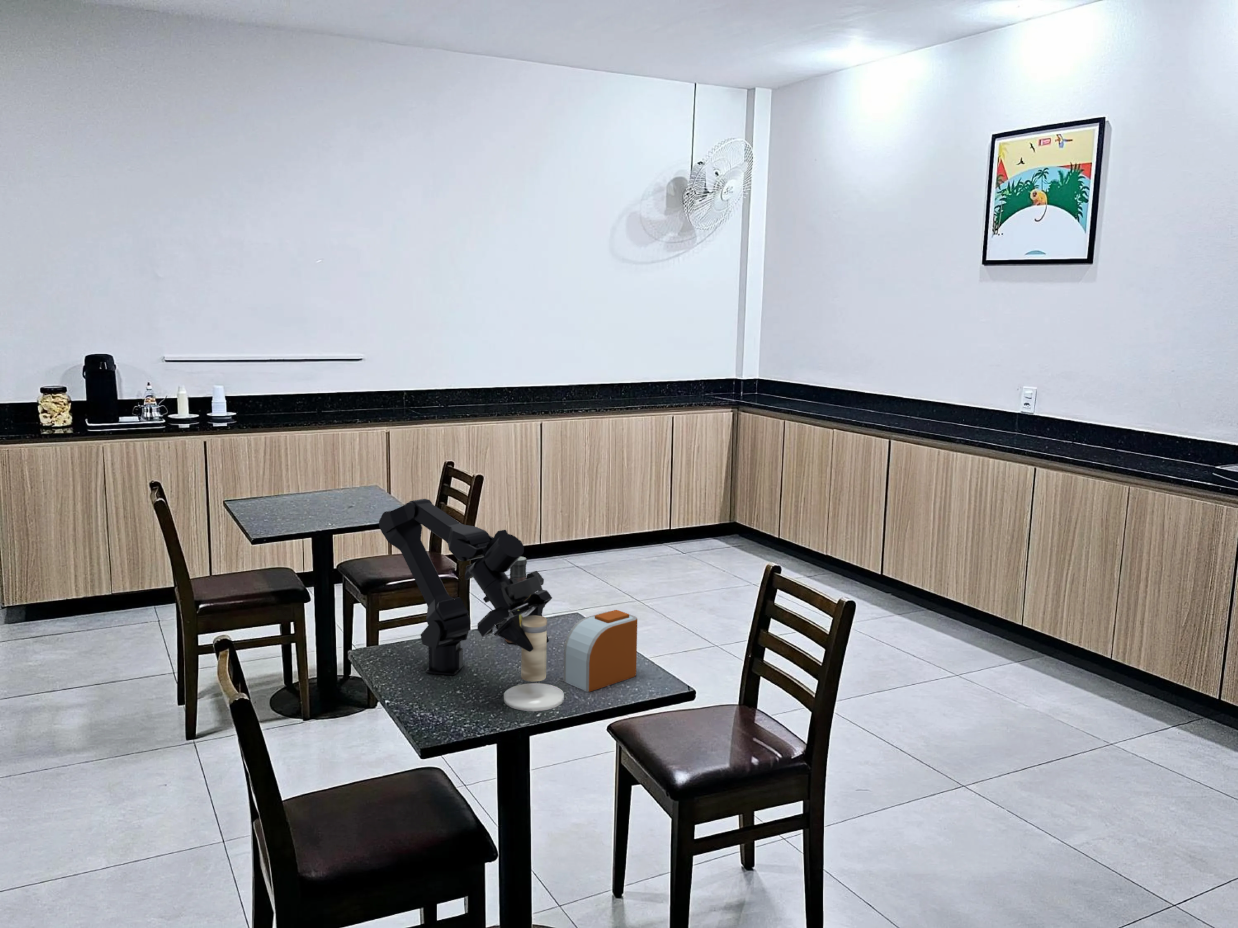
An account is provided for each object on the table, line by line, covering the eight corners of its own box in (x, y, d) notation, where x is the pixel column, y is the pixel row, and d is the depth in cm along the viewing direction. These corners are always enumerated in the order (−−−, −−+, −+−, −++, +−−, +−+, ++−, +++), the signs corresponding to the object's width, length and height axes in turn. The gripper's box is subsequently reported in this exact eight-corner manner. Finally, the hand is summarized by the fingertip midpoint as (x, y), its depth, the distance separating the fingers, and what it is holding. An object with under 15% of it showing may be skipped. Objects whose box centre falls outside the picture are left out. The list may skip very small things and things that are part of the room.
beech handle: (515, 678, 200) (515, 620, 198) (530, 670, 204) (531, 613, 202) (536, 683, 197) (537, 625, 195) (551, 675, 202) (552, 618, 200)
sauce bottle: (526, 645, 233) (526, 562, 230) (500, 643, 234) (500, 561, 231) (534, 636, 239) (534, 556, 236) (509, 634, 240) (509, 554, 237)
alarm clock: (613, 664, 222) (614, 605, 220) (640, 675, 216) (641, 614, 214) (562, 680, 212) (562, 619, 210) (588, 692, 206) (589, 629, 204)
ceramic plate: (496, 708, 197) (496, 703, 197) (513, 685, 208) (513, 680, 208) (555, 713, 195) (555, 708, 195) (569, 690, 206) (569, 685, 206)
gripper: (489, 571, 191) (536, 637, 187) (545, 551, 207) (589, 612, 203) (457, 603, 196) (502, 669, 193) (513, 582, 212) (556, 641, 209)
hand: (539, 646), depth 199 cm, fingers closed on beech handle, 5 cm apart
